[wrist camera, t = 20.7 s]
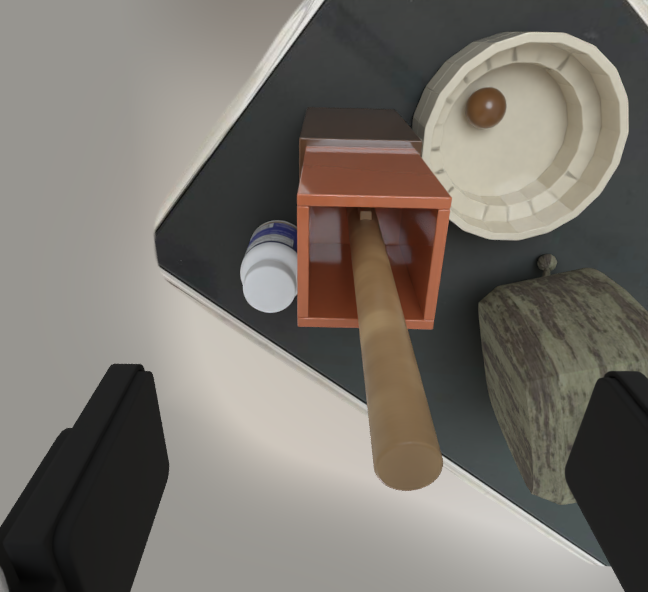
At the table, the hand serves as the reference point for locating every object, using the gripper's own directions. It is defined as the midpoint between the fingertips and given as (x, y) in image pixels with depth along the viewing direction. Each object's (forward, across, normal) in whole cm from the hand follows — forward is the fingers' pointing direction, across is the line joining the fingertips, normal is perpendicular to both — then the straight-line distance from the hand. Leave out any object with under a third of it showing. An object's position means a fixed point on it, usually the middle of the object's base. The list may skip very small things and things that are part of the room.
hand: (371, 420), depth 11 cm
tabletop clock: (+33, -18, +17) cm, 42 cm away
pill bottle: (+34, +5, +10) cm, 36 cm away
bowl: (+34, -13, 0) cm, 36 cm away
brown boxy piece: (+34, -1, +2) cm, 34 cm away
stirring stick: (+20, -1, +2) cm, 20 cm away
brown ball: (+32, -11, -2) cm, 34 cm away
